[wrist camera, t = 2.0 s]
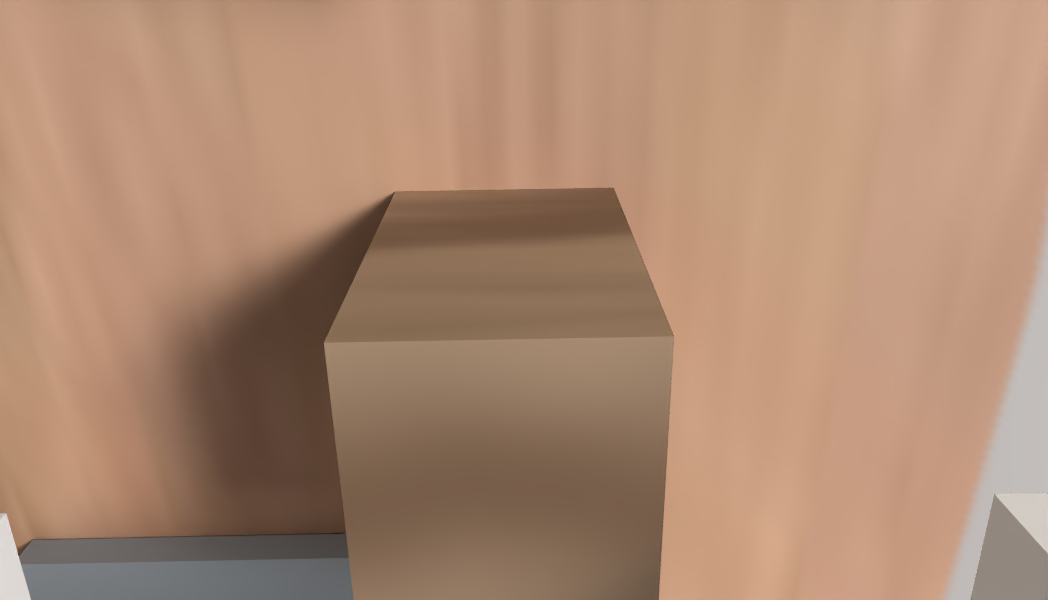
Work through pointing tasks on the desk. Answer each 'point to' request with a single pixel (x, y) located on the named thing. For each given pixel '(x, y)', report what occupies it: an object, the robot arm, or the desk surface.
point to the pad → (190, 568)
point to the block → (502, 401)
